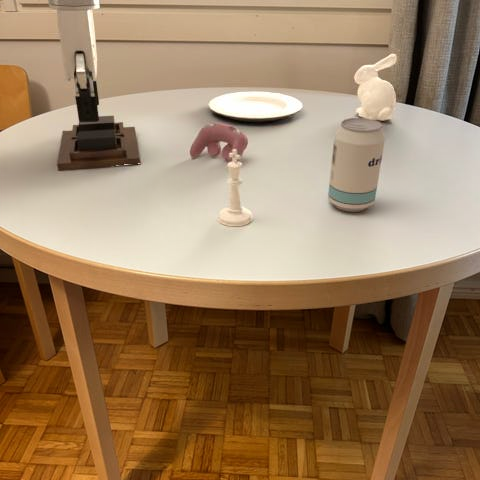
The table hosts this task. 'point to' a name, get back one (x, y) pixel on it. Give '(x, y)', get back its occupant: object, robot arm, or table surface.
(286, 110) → the plate
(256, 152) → the table surface
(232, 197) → the chess piece
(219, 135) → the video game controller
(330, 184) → the beverage can
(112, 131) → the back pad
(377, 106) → the rabbit
